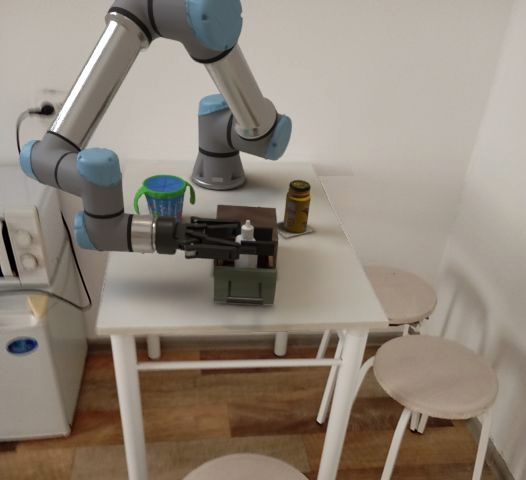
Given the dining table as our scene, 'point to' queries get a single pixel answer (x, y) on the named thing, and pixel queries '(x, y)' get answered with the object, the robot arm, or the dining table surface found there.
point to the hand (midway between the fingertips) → (272, 241)
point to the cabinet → (251, 221)
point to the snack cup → (164, 195)
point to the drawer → (245, 282)
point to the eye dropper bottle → (244, 260)
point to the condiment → (296, 209)
